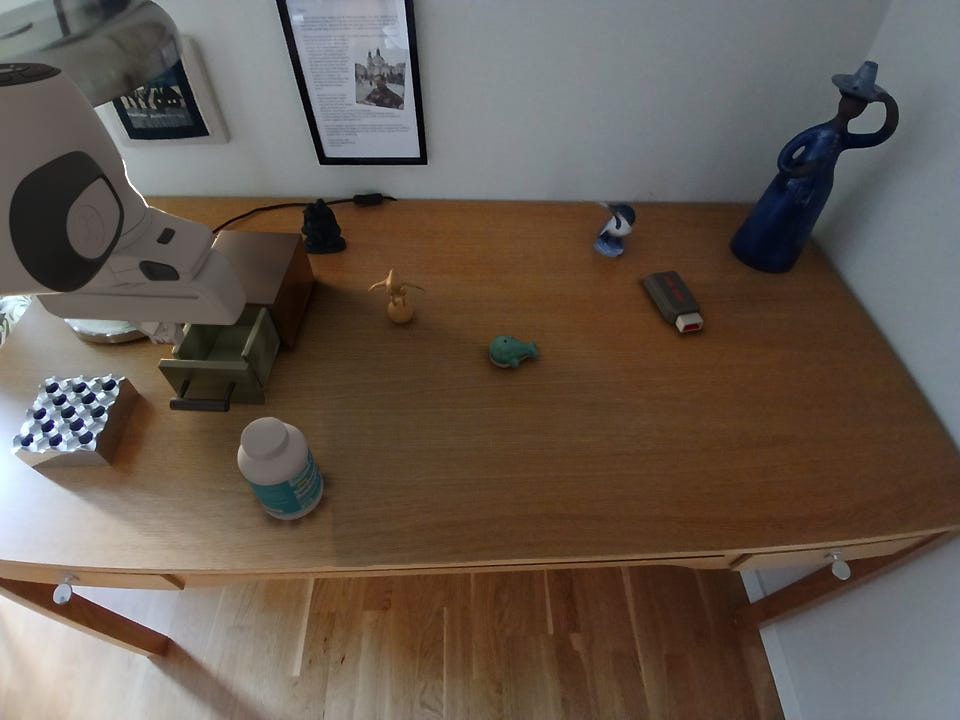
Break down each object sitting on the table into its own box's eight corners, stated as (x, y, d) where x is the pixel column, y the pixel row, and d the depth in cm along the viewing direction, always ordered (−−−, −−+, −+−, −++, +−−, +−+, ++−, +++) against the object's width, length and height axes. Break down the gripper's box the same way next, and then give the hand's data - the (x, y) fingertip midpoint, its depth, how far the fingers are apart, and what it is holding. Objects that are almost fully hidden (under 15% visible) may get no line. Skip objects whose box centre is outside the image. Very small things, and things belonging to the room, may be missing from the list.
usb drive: (671, 278, 95) (676, 266, 93) (705, 329, 87) (711, 317, 85) (643, 283, 94) (647, 270, 92) (674, 334, 87) (679, 322, 84)
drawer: (254, 432, 73) (235, 398, 67) (169, 429, 74) (142, 394, 68) (291, 327, 85) (277, 290, 79) (218, 324, 86) (198, 287, 80)
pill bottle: (318, 523, 66) (290, 467, 56) (256, 522, 66) (216, 466, 56) (330, 467, 71) (305, 406, 61) (272, 466, 71) (238, 405, 61)
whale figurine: (486, 343, 85) (487, 326, 82) (534, 341, 85) (536, 324, 82) (490, 373, 81) (491, 357, 78) (540, 370, 82) (542, 354, 79)
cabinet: (290, 349, 84) (273, 303, 76) (208, 346, 84) (182, 300, 77) (314, 279, 94) (301, 233, 86) (240, 276, 94) (221, 230, 87)
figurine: (428, 309, 89) (423, 251, 80) (428, 337, 86) (422, 279, 76) (376, 311, 89) (365, 252, 80) (373, 339, 85) (361, 280, 76)
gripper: (-18, 260, 51) (66, 358, 62) (203, 269, 51) (249, 365, 61) (21, 219, 55) (93, 317, 66) (226, 227, 55) (265, 324, 65)
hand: (170, 340), depth 63 cm, fingers closed
